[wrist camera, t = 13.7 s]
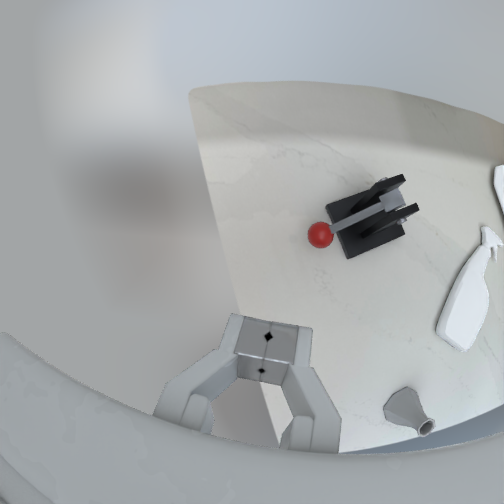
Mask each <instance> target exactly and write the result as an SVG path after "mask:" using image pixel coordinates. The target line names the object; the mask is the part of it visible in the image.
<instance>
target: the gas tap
mask: <svg viewBox="0 0 504 504" xmlns="http://www.w3.org/2000/svg"><path fill="white" fill-rule="evenodd" d="M405 181H406V180H405V178H404V176H403V174H400V175H397V176H394V177H391V178H387V177H386V178H383V179H381V180H379V181H378V182H377V183H375V184H374V185H373V186H372V187H371V189H369V190H366V191H364V192H361V193H358V194H355V195H352V196H350V197H347V198H344V199H341V200H339V201H336V202H333V203H330V204H328V205H327V206H326V209H327V212H328V214H329V216H330V218H331V221H332V223H333V224H335V223H337V222H339V221H341V220H343V219H345V218H347V217H349V216H351V215H354V214H356V213H358V212H360V211H362V210H364V209H366V208H368V207H370V206H372V205H374V204H376V203H378V202H381V200H380V198H379V196H381V195H383V194H385V193H387V192H389V191H391V190H393V189H395V188H397V187H399V186H400V185H401V184H403V183H404V182H405ZM417 211H419V207H418V205H417V203H414V204H412V205H410V206H407V207H405V208H402V209H400V210H397V211H393V212H391V213H386V211H385V210H384V211H381V212H379V213H377V214H375V215H373V216H371V217H369V218H367V219H365V220H362V221H360V222H358V223H356V224H354V225H352V226H350V227H347V228H345V229H343V230H341V231H339V232H337V235H338V237H339V240H340V242H341V245H342V247H343V250H344V252H345V255H346V257H347V259H350V258H352V257H355V256H357V255H359V254H362V253H364V252H366V251H369V250H371V249H373V248H376V247H378V246H380V245H382V244H385V243H387V242H389V241H391V240H394V239H396V238H398V237H400V236H402V235H405V232H404V230H403V227H402V225H401V223H404V222H406V221H407V219H406V218H407V217H409V216H410V215H412V214H414V213H416V212H417Z"/></svg>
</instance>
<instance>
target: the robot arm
mask: <svg viewBox="0 0 504 504" xmlns="http://www.w3.org/2000/svg"><path fill="white" fill-rule="evenodd" d="M312 334H313V330H312V328H309V327H302V326H298V325H292V324H285V323H279V322H273V321H272V322H270V321H266V320H261V319H256V318H252V317H247V316H243V315H238V314H233V313H232V314H231V315H230V317H229V320H228V323H227V325H226V328H225V331H224V334H223V337H222V340H221V343H220V346H219V349H218V350H217V349H213V350H212V351H211V352H209V353H208V354H207V355H205V356H204V357H202V358H201V359H200V360H199V361H197V362H196V363H194V364H193V365H191V366H190V367H189V368H187V369H186V370H184V371H183V372H182V373H180V374H179V375H177V376H176V377H174V378H173V379H172V380H170V381H169V382H167V383H166V385H165V387H164V389H163V392H162V394H161V396H160V398H159V401H158V403H157V405H156V408H155V410H154V413H153V415H149V414H147V413H144V412H141V411H139V410H137V409H135V408H132V407H130V406H128V405H125V404H123V403H121V402H119V401H117V400H114V399H112V398H110V397H108V396H106V395H104V394H102V393H100V392H98V391H96V390H94V389H92V388H90V387H89V386H87V385H85V384H83V383H81V382H79V381H78V380H76V379H74V378H72V377H70V376H69V375H67V374H66V373H64V372H62V371H60V370H59V369H58V368H56V367H54V366H53V365H51V364H50V363H48V362H46V361H45V360H44V359H42V358H41V357H39V356H38V355H36V354H35V353H33V352H32V351H31V350H29V349H28V348H26V347H25V346H24V345H22V344H21V343H20V342H18V341H17V340H16V339H15V338H13V337H12V336H11V335H9V334H8V333H5V332H2V333H0V504H504V431H503V432H500V433H497V434H494V435H491V436H487V437H484V438H480V439H476V440H472V441H468V442H464V443H460V444H455V445H450V446H444V447H439V448H433V449H426V450H419V451H410V452H399V453H384V454H338V451H339V442H340V432H341V420H342V418H341V417H340V415H339V413H338V411H337V410H336V408H335V406H334V404H333V402H332V401H331V399H330V397H329V395H328V393H327V392H326V390H325V388H324V386H323V384H322V383H321V381H320V379H319V377H318V375H317V374H316V372H315V370H314V368H312V367H309V366H310V356H311V345H312ZM237 377H239V378H244V379H249V380H255V381H260V382H265V383H270V384H275V385H280V386H281V388H282V390H283V393H284V395H285V398H286V400H287V403H288V405H289V408H290V410H291V412H292V415H293V417H294V418H293V420H292V421H291V423H290V424H289V425H288V427H287V428H286V429H285V431H284V432H283V434H282V437H281V442H280V447H279V449H277V448H271V447H265V446H259V445H254V444H248V443H243V442H239V441H235V440H230V439H226V438H221V437H217V436H214V435H211V431H212V427H213V424H214V421H215V420H214V417H213V413H212V408H211V404H210V403H211V402H212V401H213V400H214V399H215V398H216V397H217V396H219V395H220V394H221V393H222V392H223V391H224V390H225V389H226V388H228V387H229V386H230V385H231V384H232V383H233V382H234V381H235V380H236V379H237Z"/></svg>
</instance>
